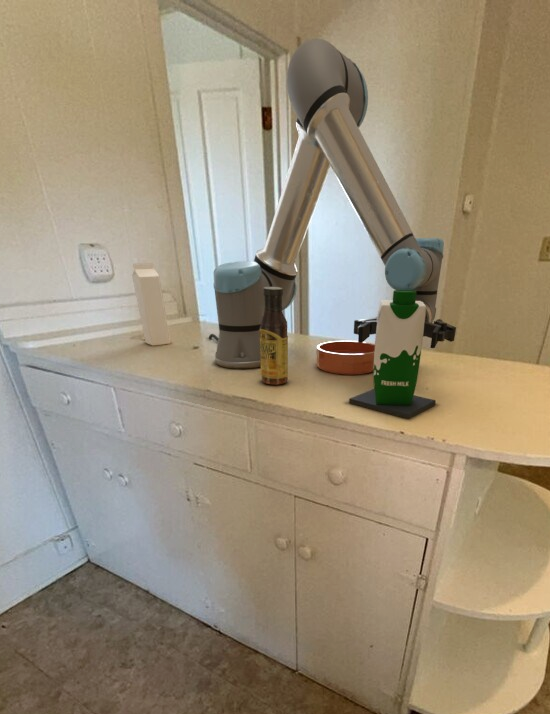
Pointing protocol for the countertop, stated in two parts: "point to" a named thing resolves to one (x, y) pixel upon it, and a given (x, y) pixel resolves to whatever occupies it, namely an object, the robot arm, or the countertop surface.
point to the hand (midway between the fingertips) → (396, 337)
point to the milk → (150, 304)
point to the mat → (398, 410)
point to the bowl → (346, 357)
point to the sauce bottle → (273, 339)
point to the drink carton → (398, 348)
